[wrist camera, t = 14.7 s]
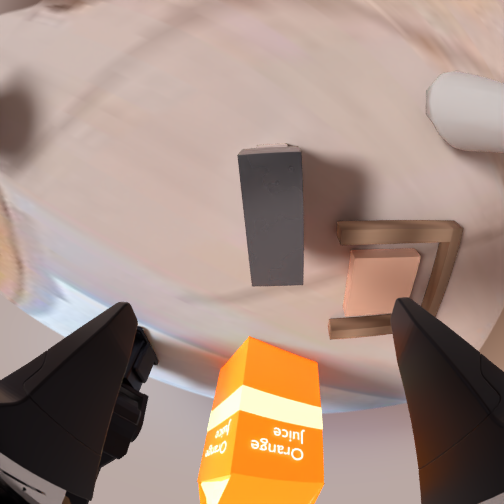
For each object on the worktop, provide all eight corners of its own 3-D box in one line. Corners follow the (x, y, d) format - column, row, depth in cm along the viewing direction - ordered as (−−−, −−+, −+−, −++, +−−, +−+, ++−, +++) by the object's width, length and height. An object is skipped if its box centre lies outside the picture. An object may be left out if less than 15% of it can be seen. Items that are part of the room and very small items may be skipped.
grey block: (258, 239, 21) (252, 286, 16) (249, 141, 17) (237, 155, 12) (297, 238, 21) (303, 284, 16) (293, 138, 17) (301, 151, 12)
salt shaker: (473, 143, 15) (593, 204, 4) (420, 146, 16) (554, 215, 5) (464, 75, 12) (592, 90, 1) (408, 70, 13) (549, 61, 2)
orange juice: (281, 391, 32) (272, 536, 14) (219, 370, 30) (186, 527, 13) (318, 361, 28) (325, 536, 11) (249, 334, 27) (220, 537, 9)
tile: (342, 303, 24) (345, 316, 23) (349, 247, 21) (354, 258, 20) (398, 299, 24) (404, 311, 22) (412, 246, 21) (420, 256, 19)
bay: (328, 327, 25) (330, 339, 24) (337, 221, 20) (342, 230, 18) (425, 317, 24) (430, 328, 22) (454, 220, 18) (463, 228, 17)
